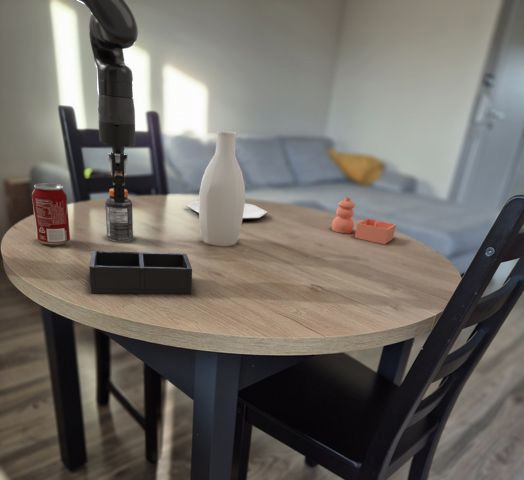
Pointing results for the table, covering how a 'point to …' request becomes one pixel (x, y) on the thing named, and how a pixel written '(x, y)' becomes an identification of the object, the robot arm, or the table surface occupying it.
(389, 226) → the pottery
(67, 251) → the table surface
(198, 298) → the table surface
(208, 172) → the bottle
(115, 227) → the pill bottle
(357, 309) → the table surface
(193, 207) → the plate
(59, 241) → the soda can
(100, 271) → the bottle rack
